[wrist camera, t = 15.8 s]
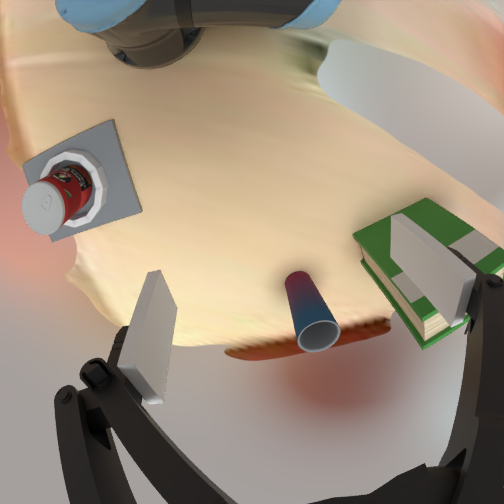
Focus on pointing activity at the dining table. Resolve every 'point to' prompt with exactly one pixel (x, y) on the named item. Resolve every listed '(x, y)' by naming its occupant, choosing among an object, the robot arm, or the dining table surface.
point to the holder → (91, 177)
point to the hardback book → (402, 287)
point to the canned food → (56, 199)
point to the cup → (310, 314)
